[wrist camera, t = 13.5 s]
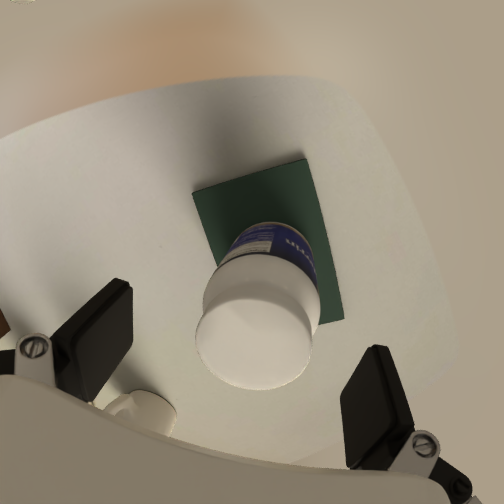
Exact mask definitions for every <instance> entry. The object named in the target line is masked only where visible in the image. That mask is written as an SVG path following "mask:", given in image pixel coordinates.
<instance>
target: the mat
mask: <svg viewBox="0 0 504 504" xmlns="http://www.w3.org/2000/svg"><path fill="white" fill-rule="evenodd" d="M192 196H193V199H194V202H195V205H196V208H197V211H198V214H199V216H200V219H201V222H202V225H203V228H204V231H205V233H206V236H207V239H208V242H209V245H210V247H211V250H212V253H213V256H214V258H215V261H216V264H217V267H218V266H219V264H220V263H221V261H222V260H223V258H224V257H225V255H226V254H227V252H228V251H229V249H230V247H231V246H232V244H233V243H234V242H235V240H236V239H237V238H238V236H239V235H240V234H241V233H242V232H244V231H245V230H246V229H248V228H249V227H251V226H253V225H256V224H259V223H263V222H278V223H283V224H286V225H289V226H291V227H293V228H294V229H296V230H297V231H298V232H300V233H301V234H302V235H303V236H304V238H305V239H306V240H307V242H308V243H309V245H310V247H311V250H312V253H313V258H314V264H315V271H316V277H317V284H318V291H319V298H320V318H319V323H318V325H321V324H325V323H330V322H334V321H338V320H342V319H344V313H343V307H342V302H341V297H340V292H339V287H338V282H337V277H336V273H335V268H334V263H333V259H332V254H331V250H330V246H329V241H328V237H327V233H326V229H325V225H324V221H323V217H322V213H321V209H320V205H319V201H318V197H317V194H316V190H315V186H314V183H313V179H312V176H311V172H310V169H309V165H308V162H307V159H302V160H298V161H295V162H291V163H287V164H284V165H280V166H277V167H273V168H270V169H266V170H263V171H259V172H256V173H253V174H249V175H246V176H243V177H239V178H236V179H233V180H230V181H227V182H223V183H220V184H217V185H214V186H211V187H208V188H205V189H202V190H199V191H196V192H194V193H192Z"/></svg>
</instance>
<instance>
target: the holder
mask: <svg viewBox="0 0 504 504" xmlns="http://www.w3.org/2000/svg"><path fill="white" fill-rule="evenodd" d="M10 330H11V329H10V327H9V325H8V323H7V321H6V319H5V317H4V315H3V313H2V311H1V309H0V339H1V338H2V337H3V336H4V335H5V334H7V333H8V332H9V331H10Z"/></svg>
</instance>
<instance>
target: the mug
mask: <svg viewBox="0 0 504 504" xmlns="http://www.w3.org/2000/svg"><path fill="white" fill-rule="evenodd" d="M103 411H105V412H107V413H110V414H112V415H115V416H116V417H119V418H121V419H123V420H126V421H128V422H131V423H133V424H136V425H138V426H141V427H143V428H146V429H149V430H151V431H154V432H157V433H160V434H162V435H165V436H168V437H170V435H171V433H172V430H173V427H174V425H175V422H176V419H177V415H176V412H175V410H174V408H173V407H172V406H171V405H170V404H169V403H168V402H167V401H166V400H164V399H163V398H161V397H160V396H158V395H156V394H153V393H151V392H148V391H143V390H136V391H133V392H131V393H130V394H129V395H127V394H122V395H120V396H119V397H118V398H116V399H115V400H113V401H112V402H111V403H110V404H108V405H107V406H106V407H105V409H104V410H103Z"/></svg>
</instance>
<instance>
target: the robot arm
mask: <svg viewBox="0 0 504 504" xmlns="http://www.w3.org/2000/svg"><path fill="white" fill-rule="evenodd" d="M132 343H133V288H132V287H130V284H129V282H127V281H124V280H121V279H118V278H114V279H113V280H112V281H110V282H109V283H108V284H107V285H106V286H105V287H104V288H102V289H101V290H100V291H99V292H98V293H97V294H96V295H95V296H93V297H92V298H91V299H90V300H89V301H88V302H87V303H86V304H85V305H84V306H82V307H81V308H80V309H79V310H78V311H77V312H76V313H75V314H74V315H73V316H72V317H71V318H69V319H68V320H67V321H66V322H65V323H64V324H63V325H62V326H61V327H60V328H59V329H58V330H57V331H56V332H55V333H54V334H53V335H52V336H51V337H50V338H48V337H47V336H46V335H44V334H41V333H30V334H27V335H25V336H23V337H22V338H20V339H19V341H18V342H17V344H16V349H12V350H2V351H0V504H482V503H481V502H480V501H479V499H478V498H477V497H476V496H473V497H472V496H471V495H472V484H471V481H470V480H469V478H468V477H467V476H466V475H464V474H463V473H461V472H460V471H458V470H457V469H456V468H454V467H453V466H451V465H450V464H449V463H447V462H446V461H444V460H443V459H441V458H440V457H439V454H440V444H439V441H438V440H437V438H436V437H435V436H434V435H433V434H432V433H430V432H428V431H425V430H417V431H415V428H414V425H415V424H414V421H413V417H412V414H411V411H410V408H409V405H408V402H407V399H406V396H405V393H404V390H403V387H402V384H401V381H400V378H399V375H398V372H397V369H396V367H395V364H394V361H393V359H392V356H391V353H390V351H389V348H388V347H387V346H382V345H376V344H374V345H373V346H372V347H368V348H367V350H366V351H365V353H364V355H363V357H362V359H361V360H360V362H359V364H358V366H357V367H356V369H355V371H354V373H353V374H352V376H351V378H350V379H349V381H348V383H347V384H346V386H345V387H344V389H343V391H342V393H341V396H340V405H341V414H342V423H343V433H344V443H345V454H346V465H347V467H348V468H350V470H346V469H329V468H315V467H305V466H297V465H289V464H282V463H275V462H269V461H263V460H257V459H252V458H247V457H242V456H237V455H233V454H228V453H224V452H220V451H216V450H212V449H208V448H205V447H201V446H197V445H194V444H191V443H187V442H184V441H181V440H178V439H174V438H171V437H168V436H165V435H162V434H160V433H157V432H154V431H151V430H149V429H146V428H143V427H141V426H138V425H136V424H133V423H131V422H128V421H126V420H123V419H121V418H119V417H116V416H114V415H112V414H110V413H107V412H105V411H103V410H101V409H98V408H96V407H94V406H92V405H90V404H88V402H92V401H93V400H94V399H95V398H96V396H97V395H98V393H99V392H100V390H101V389H102V387H103V386H104V384H105V383H106V382H107V380H108V379H109V377H110V376H111V374H112V373H113V371H114V370H115V369H116V367H117V366H118V364H119V363H120V362H121V360H122V359H123V357H124V356H125V354H126V353H127V352H128V350H129V349H130V347H131V346H132Z"/></svg>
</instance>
